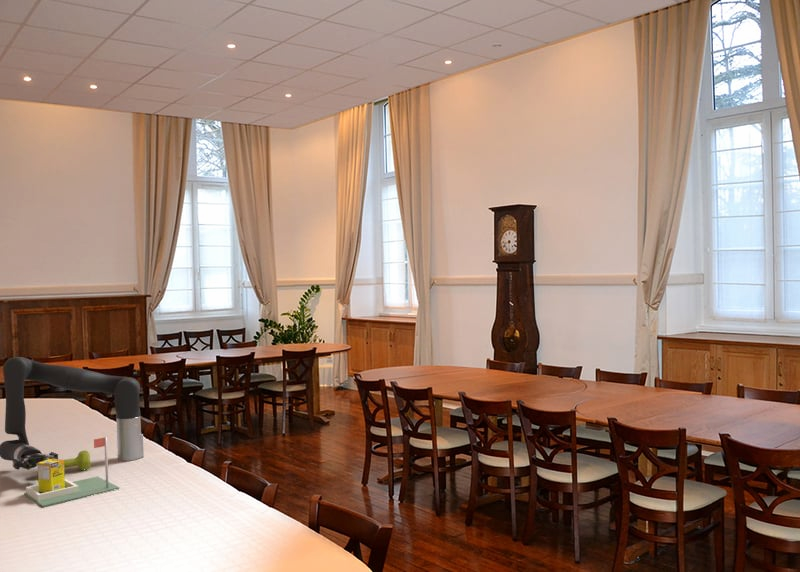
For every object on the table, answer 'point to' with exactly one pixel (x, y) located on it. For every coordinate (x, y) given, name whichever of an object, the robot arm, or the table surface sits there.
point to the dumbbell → (79, 461)
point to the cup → (74, 486)
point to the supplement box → (51, 475)
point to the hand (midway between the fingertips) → (42, 464)
